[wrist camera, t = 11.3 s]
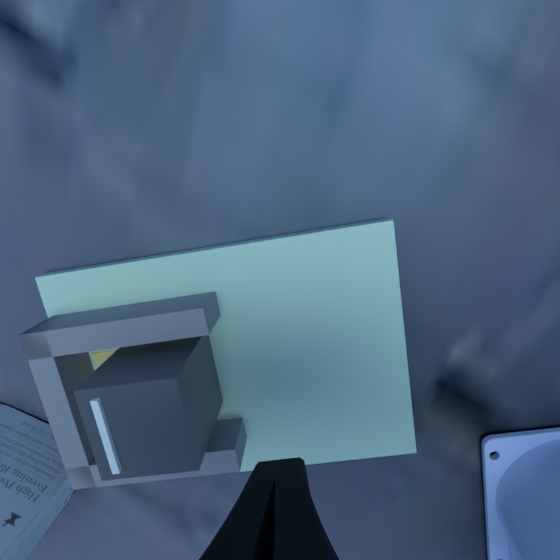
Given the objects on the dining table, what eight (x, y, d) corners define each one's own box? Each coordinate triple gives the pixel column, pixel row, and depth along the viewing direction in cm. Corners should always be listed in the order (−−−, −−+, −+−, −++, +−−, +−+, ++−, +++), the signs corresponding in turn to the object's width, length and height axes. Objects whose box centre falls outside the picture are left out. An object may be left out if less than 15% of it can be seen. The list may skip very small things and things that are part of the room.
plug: (223, 401, 21) (197, 474, 16) (147, 410, 21) (99, 484, 16) (207, 327, 20) (174, 380, 15) (128, 338, 20) (70, 393, 15)
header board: (411, 440, 22) (431, 489, 18) (110, 473, 23) (78, 524, 20) (388, 217, 19) (407, 227, 15) (47, 272, 20) (-3, 292, 17)
